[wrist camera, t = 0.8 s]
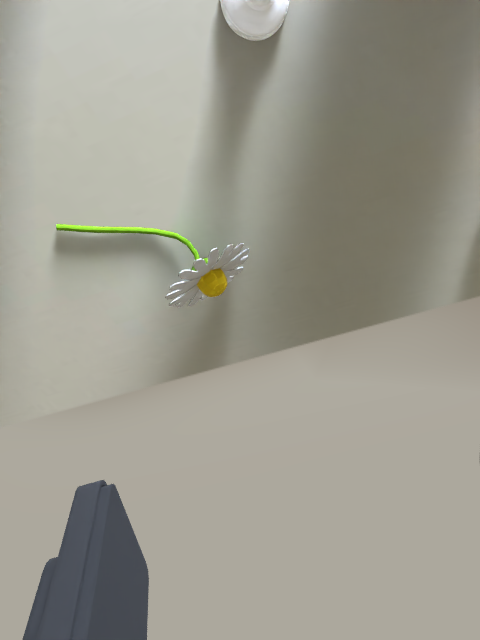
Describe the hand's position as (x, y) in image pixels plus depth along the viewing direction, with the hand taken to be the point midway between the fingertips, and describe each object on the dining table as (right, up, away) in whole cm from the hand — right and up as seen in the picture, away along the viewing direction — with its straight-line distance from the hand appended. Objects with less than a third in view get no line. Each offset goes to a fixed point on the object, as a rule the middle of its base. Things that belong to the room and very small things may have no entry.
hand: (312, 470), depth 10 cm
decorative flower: (-9, +8, +25) cm, 27 cm away
